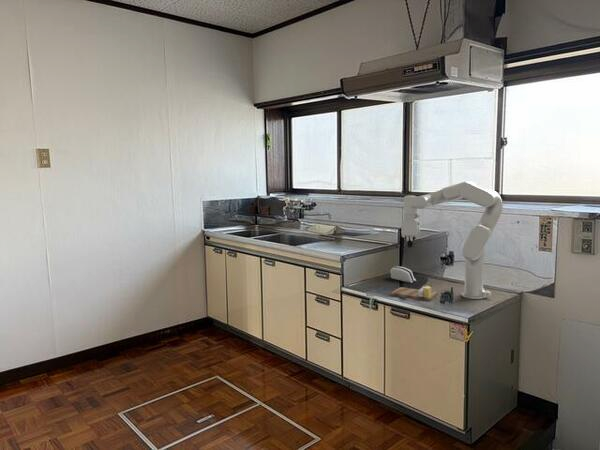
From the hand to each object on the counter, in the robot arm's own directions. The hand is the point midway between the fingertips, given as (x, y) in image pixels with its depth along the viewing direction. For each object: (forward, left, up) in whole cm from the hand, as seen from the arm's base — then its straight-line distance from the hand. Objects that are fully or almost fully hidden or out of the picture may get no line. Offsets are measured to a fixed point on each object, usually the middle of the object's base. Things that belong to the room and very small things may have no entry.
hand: (410, 247), depth 271 cm
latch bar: (-12, +12, -23) cm, 29 cm away
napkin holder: (+12, -16, -26) cm, 32 cm away
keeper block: (-15, +15, -24) cm, 32 cm away
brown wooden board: (-7, +12, -25) cm, 28 cm away
